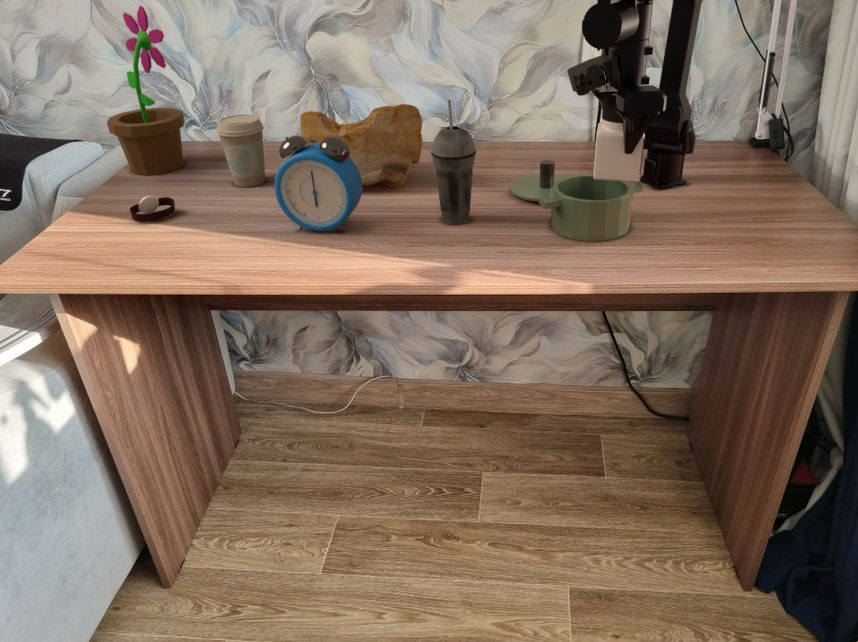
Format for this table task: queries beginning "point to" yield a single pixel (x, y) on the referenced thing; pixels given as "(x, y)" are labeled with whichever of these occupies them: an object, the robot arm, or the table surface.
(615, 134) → the medicine bottle
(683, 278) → the table surface
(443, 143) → the beverage cup
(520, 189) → the lid
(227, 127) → the coffee cup
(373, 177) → the rough brown rock
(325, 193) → the alarm clock
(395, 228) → the table surface
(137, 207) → the watch
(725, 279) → the table surface
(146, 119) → the flowerpot
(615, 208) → the cooking pot
